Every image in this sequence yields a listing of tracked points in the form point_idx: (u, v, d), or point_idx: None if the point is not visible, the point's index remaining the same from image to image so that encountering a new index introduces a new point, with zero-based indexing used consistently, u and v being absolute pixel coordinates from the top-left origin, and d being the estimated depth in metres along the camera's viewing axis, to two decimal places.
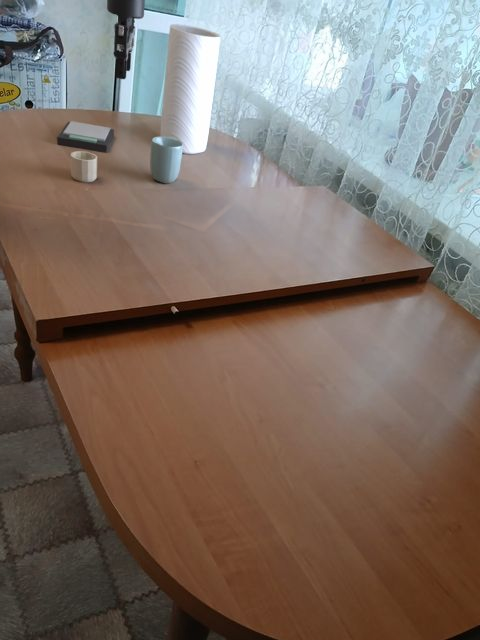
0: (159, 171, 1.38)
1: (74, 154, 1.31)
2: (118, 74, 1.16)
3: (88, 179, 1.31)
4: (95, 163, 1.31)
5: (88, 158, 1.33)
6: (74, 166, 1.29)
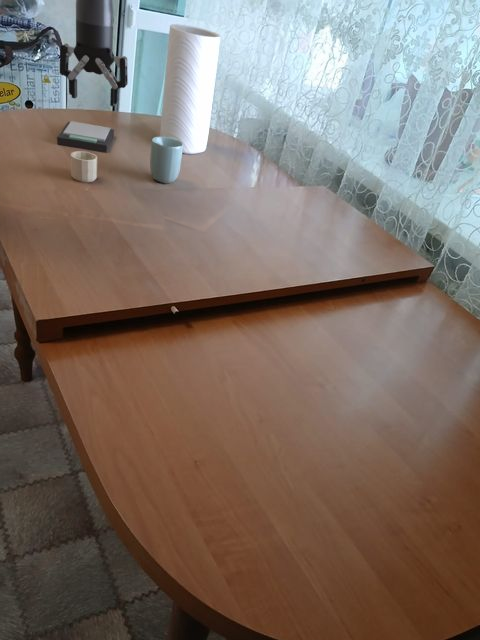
0: (159, 171, 1.38)
1: (74, 154, 1.31)
2: (116, 102, 1.23)
3: (88, 179, 1.31)
4: (95, 163, 1.31)
5: (88, 158, 1.33)
6: (74, 166, 1.29)
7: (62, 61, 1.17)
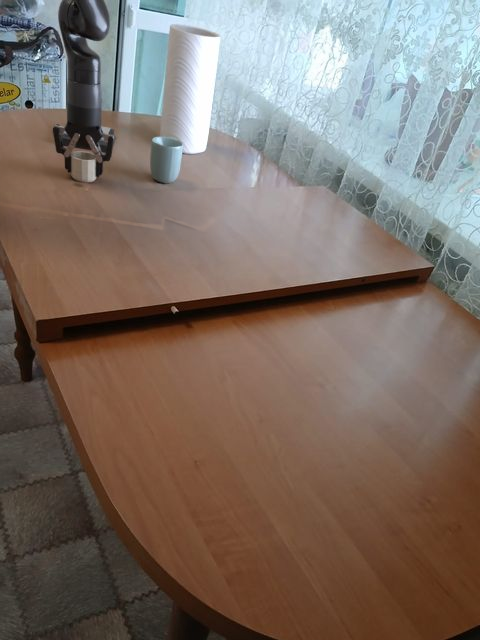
0: (159, 171, 1.38)
1: (74, 154, 1.31)
2: None
3: (88, 179, 1.31)
4: (95, 163, 1.31)
5: (88, 158, 1.33)
6: (74, 166, 1.29)
7: (56, 141, 1.27)
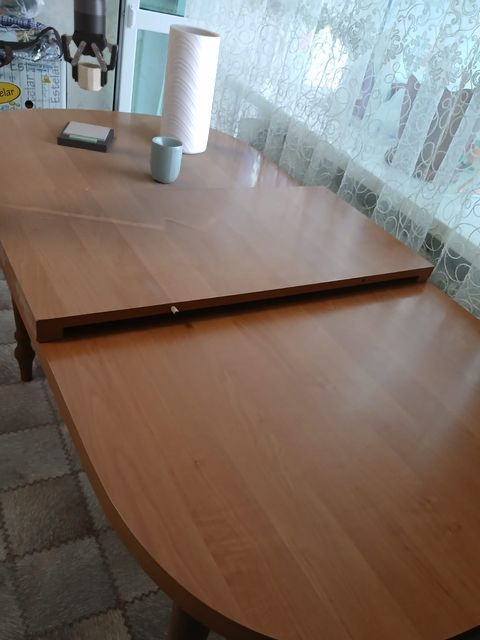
0: (159, 171, 1.38)
1: (81, 64, 1.40)
2: (106, 83, 1.42)
3: (93, 88, 1.41)
4: (100, 72, 1.40)
5: None
6: (80, 74, 1.39)
7: (64, 49, 1.36)
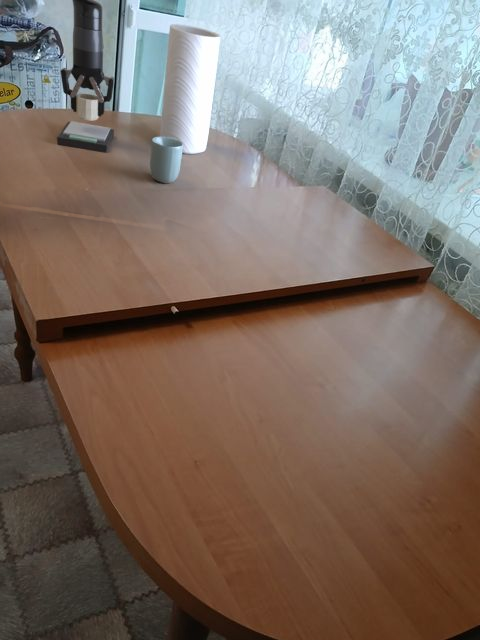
0: (159, 171, 1.38)
1: (79, 95, 1.50)
2: (103, 113, 1.51)
3: (91, 117, 1.50)
4: (97, 103, 1.49)
5: (91, 100, 1.52)
6: (79, 105, 1.48)
7: (64, 82, 1.45)
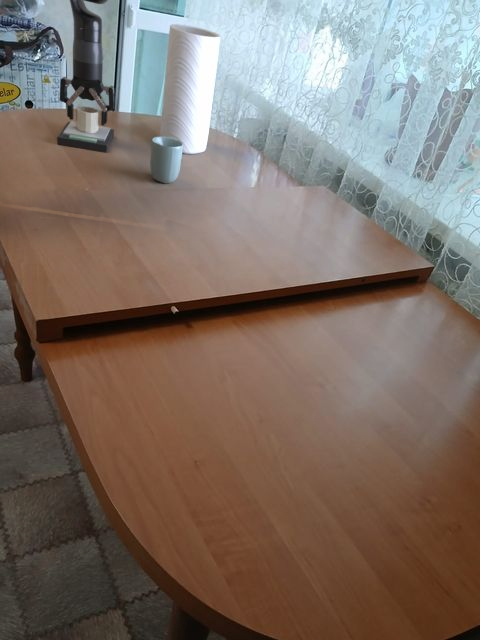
0: (159, 171, 1.38)
1: (79, 108, 1.52)
2: None
3: (91, 130, 1.52)
4: (97, 116, 1.51)
5: (91, 112, 1.54)
6: (79, 118, 1.50)
7: (61, 90, 1.46)
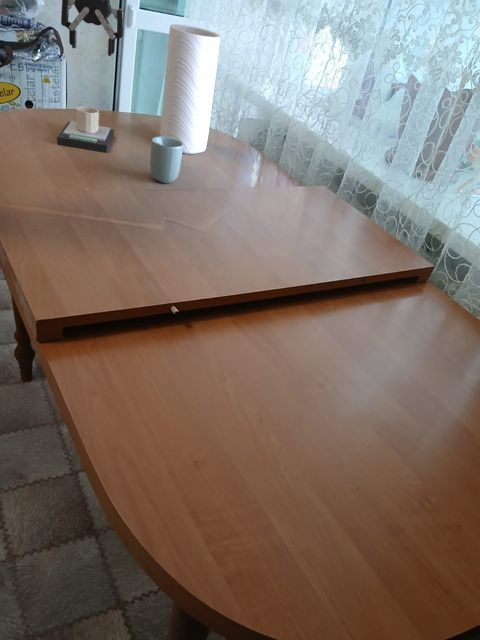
0: (159, 171, 1.38)
1: (79, 108, 1.52)
2: (113, 52, 1.35)
3: (91, 130, 1.52)
4: (97, 116, 1.51)
5: (91, 112, 1.54)
6: (79, 118, 1.50)
7: (63, 12, 1.28)
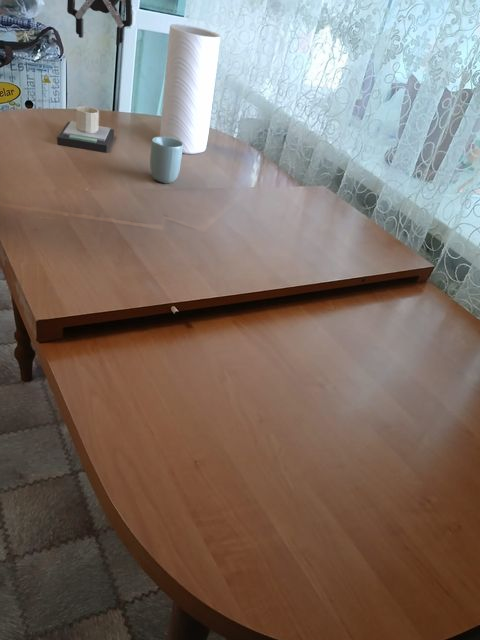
0: (159, 171, 1.38)
1: (79, 108, 1.52)
2: (122, 41, 1.29)
3: (91, 130, 1.52)
4: (97, 116, 1.51)
5: (91, 112, 1.54)
6: (79, 118, 1.50)
7: None
